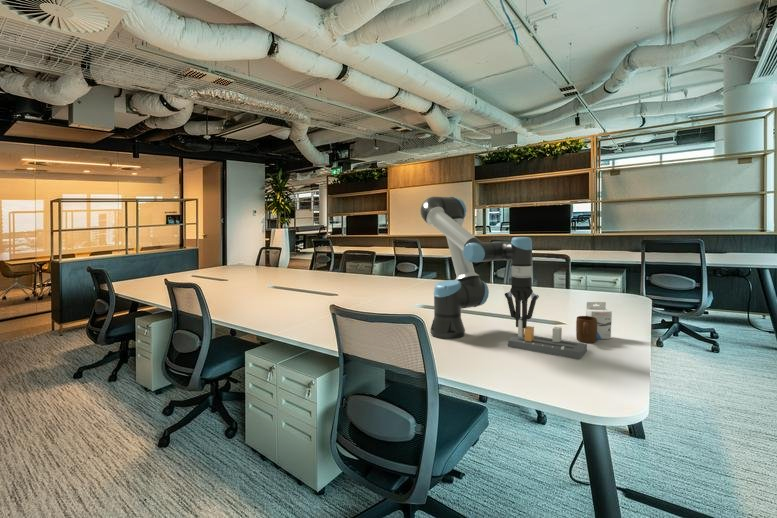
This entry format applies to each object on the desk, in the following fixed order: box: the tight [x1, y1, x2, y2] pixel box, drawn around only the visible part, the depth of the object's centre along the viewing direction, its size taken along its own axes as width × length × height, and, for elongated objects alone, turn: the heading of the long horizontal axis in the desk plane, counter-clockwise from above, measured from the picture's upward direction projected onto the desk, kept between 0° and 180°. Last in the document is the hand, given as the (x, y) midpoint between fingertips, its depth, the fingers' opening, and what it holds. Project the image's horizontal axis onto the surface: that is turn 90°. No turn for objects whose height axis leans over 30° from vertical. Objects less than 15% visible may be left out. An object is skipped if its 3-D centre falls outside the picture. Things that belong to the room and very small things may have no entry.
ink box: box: [585, 301, 613, 340], centre depth 161 cm, size 8×5×15 cm, turn 89°
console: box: [507, 333, 588, 360], centre depth 148 cm, size 26×12×3 cm, turn 52°
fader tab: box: [524, 325, 535, 342], centre depth 150 cm, size 2×4×5 cm, turn 142°
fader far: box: [551, 326, 563, 342], centre depth 148 cm, size 2×4×5 cm, turn 142°
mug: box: [575, 315, 598, 344], centre depth 155 cm, size 12×8×9 cm, turn 149°
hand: (521, 335), depth 152 cm, fingers closed
